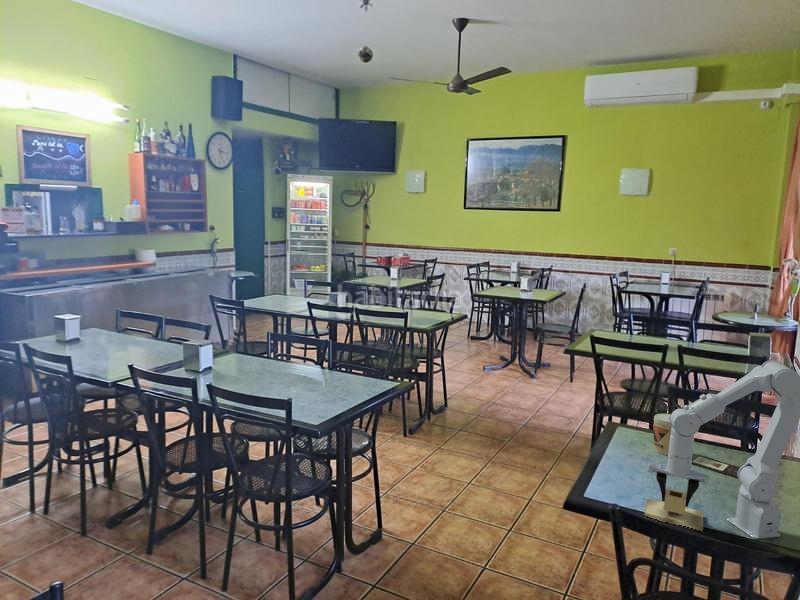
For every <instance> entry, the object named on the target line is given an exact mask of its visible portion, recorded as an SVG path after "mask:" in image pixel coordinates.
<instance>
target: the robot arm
mask: <svg viewBox="0 0 800 600" xmlns="http://www.w3.org/2000/svg"><path fill="white" fill-rule="evenodd" d="M756 391H757V392H764V393H772V392H773V393H774V395H775V396H776V398H777V400H778V402H777V405H776V407H775V409H774V411H773V414H772V416H771V418H770V419H769V420H770V421H769V422H768V425H767V427H766V429H765V432H764V434H763V436H762V438H761V441H760V442H759V444H758V446H757V449H756V451H755V453H754V455H752V456H750V457H749V458H748V457H747V458H748V459H747V461H746V463H744V465H742V466H740V467H741V468H740V469H739V471H738V481H739V482H740V483H741V484H740V487H739V488H738V495H737V503H736V513H735V517H728V518H726V521H728V522H729V523H730V524H732V525H734V526H735V527H736V528H738V529H739V530H740V531H742V532H744V533H745V534H746V535H748V536H749V537H751V538H752V539H754V540H757V539H758V540H760V539H769V538H776V537H777V538H780V537H781V534H780V533H779V527H780V522H781V516H782V515H781V511H780V508H778V506H776V505H775V504H774V502H773V501H772V499H774V498H775V496H776V495H777V482H778V480H779V472H778V466H779V463H780V462H781V460H782V459H781V458H783V454H784V452H785V451H786V449H787V446H788V443H789V442H790V439H791V438H792V436H793V433H794V431H795V429H796V426H797V425H798V423H799V420H800V374H799V373H798V372H797V371H796V370H793V368H789V367H788V366H787V365H785V364H783V363H782V362H780V361H778V360H776V359H775V360H773V359H772V360H768V361H767V360H766V361H764V362H763V363H762V365H758V366H755V367H754V368H753V369H751V371H749V372H748V373H747V374H745V375H744V376H743V377H741V378H739V379H738V380H736V381H735V382H734V383H732V384H730V385H729V386H727V387H726V388H724V389H722V390H721V391H720V392H718V393H717V394H715V393H707V394H704V393H702V394H701V395H699V398H698V399H697V400H695V401H693V402H692V403H690V404H688V405H687V404H685V405H684V406H683V407H682V408H676V409H675V410H674V411H672V412H671V416H669V420H670V423H671V424H672V428H671V435H670V442H669V452H668V455H667V462H666V463H667V464H663V463H662V464H660V463H652V462H649V463H648V473H650V474H651V473H656V480H657V483H658V486H659V489H660V494H661V502H663V503H664V502H665V493H666V488H667V477H668V476H670V477H674V478H679V479H684V480H688V482H687V487H686V488H687V490H686V505H685V508H689V504H690V502H691V499H692V497H693V496H694V494H695V493H696V491H697V490H698V489H699V488H700V487H699V486H700V483H702V484H704V485H706V486H708V485H709V484H710V475H709V474H706V473H703V472H699V471H696V470H694V469H692V462H693V453H694V444H695V435H696V434H697V433H698V432H699V430H700V427H701V426H702V425H704V424H706V423H708V422H710V421H711V420H713V419H715V418H717V417H718V416H721V414H724V413H725V409H726V406H728V405H730V404H731V403H734V402H736V401H738V400H740V399H742V398H744V397H745V396H748V395H749V394H752V393H754V392H756Z"/></svg>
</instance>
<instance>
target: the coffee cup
mask: <svg viewBox="0 0 800 600" xmlns="http://www.w3.org/2000/svg"><path fill="white" fill-rule="evenodd" d="M671 415H672V413H657V414H655V415H654V416H653V443H652V445H653V446H652V447H653V451H654V452H656V453H658V454H660V455H663V454H664V456H668V452H669V442H670V435H671V428H672V424H671V423H670V420H669V416H671Z"/></svg>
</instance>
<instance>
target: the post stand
mask: <svg viewBox="0 0 800 600" xmlns="http://www.w3.org/2000/svg"><path fill="white" fill-rule="evenodd" d="M644 515H645V516H648V517H650V518H653V519H652V520H654V519H657V520H656V521H658V520H659V522H663V523H666V522H668V523H667V524H671V525H674V524H675V525H674V526H679V525H682V526H681V527H683V526H686V527H685V528H687V527H689V528H688V529H691V528H693V529H692V530H695V529H696V530H695V531H699V530H700V531H699V532H703V531H704V511H701V510H696V509H694V508H693V509H692V508H689V507H685V514H684V515H683V514H679V513H675V512H671V511H666V510H664V501H659V500H654V499H650V498H647V499H646V503H645V508H644V514H643V516H644ZM650 518H649V519H650Z"/></svg>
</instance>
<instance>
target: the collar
mask: <svg viewBox="0 0 800 600" xmlns="http://www.w3.org/2000/svg"><path fill="white" fill-rule="evenodd" d="M686 494H687V491H686V492H685V491H680V490H676V489H671V488H669V487H668V488H667V487H666V493H665V502H664V501H663V503H664V510H666V511H671V512H675V513H679V514H683V515H684V514H685V508H686V507H685V505H686Z"/></svg>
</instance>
